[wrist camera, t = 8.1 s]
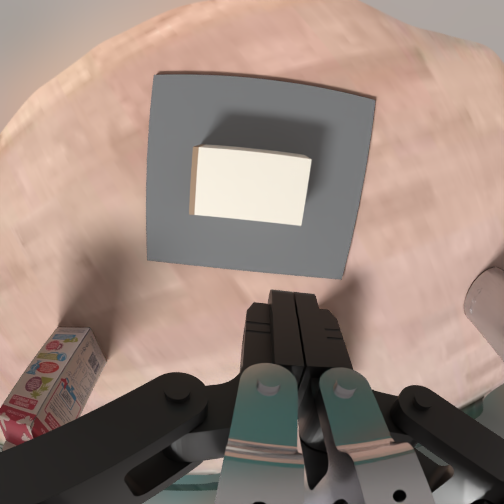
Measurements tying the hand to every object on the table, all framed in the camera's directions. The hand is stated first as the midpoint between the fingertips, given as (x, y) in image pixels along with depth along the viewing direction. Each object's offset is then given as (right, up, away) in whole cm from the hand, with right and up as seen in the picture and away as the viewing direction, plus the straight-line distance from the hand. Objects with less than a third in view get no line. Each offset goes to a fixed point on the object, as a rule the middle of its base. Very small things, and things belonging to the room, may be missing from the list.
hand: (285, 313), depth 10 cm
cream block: (+4, +8, +17) cm, 19 cm away
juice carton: (-27, -12, +29) cm, 41 cm away
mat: (-1, +9, +19) cm, 21 cm away
